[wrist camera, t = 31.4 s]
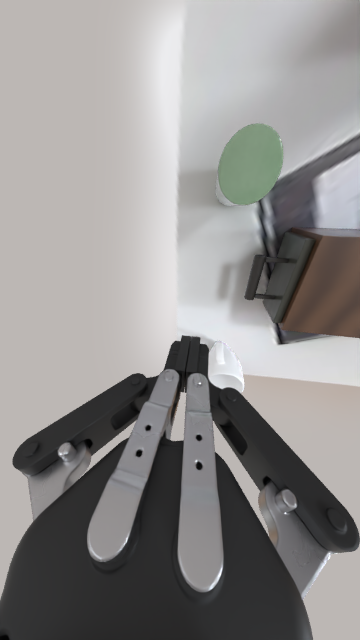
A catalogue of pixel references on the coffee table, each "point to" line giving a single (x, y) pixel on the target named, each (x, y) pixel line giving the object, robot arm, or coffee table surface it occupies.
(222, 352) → the mug
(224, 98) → the coffee table surface
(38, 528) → the robot arm
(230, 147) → the green cylinder
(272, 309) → the drawer
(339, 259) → the cabinet
